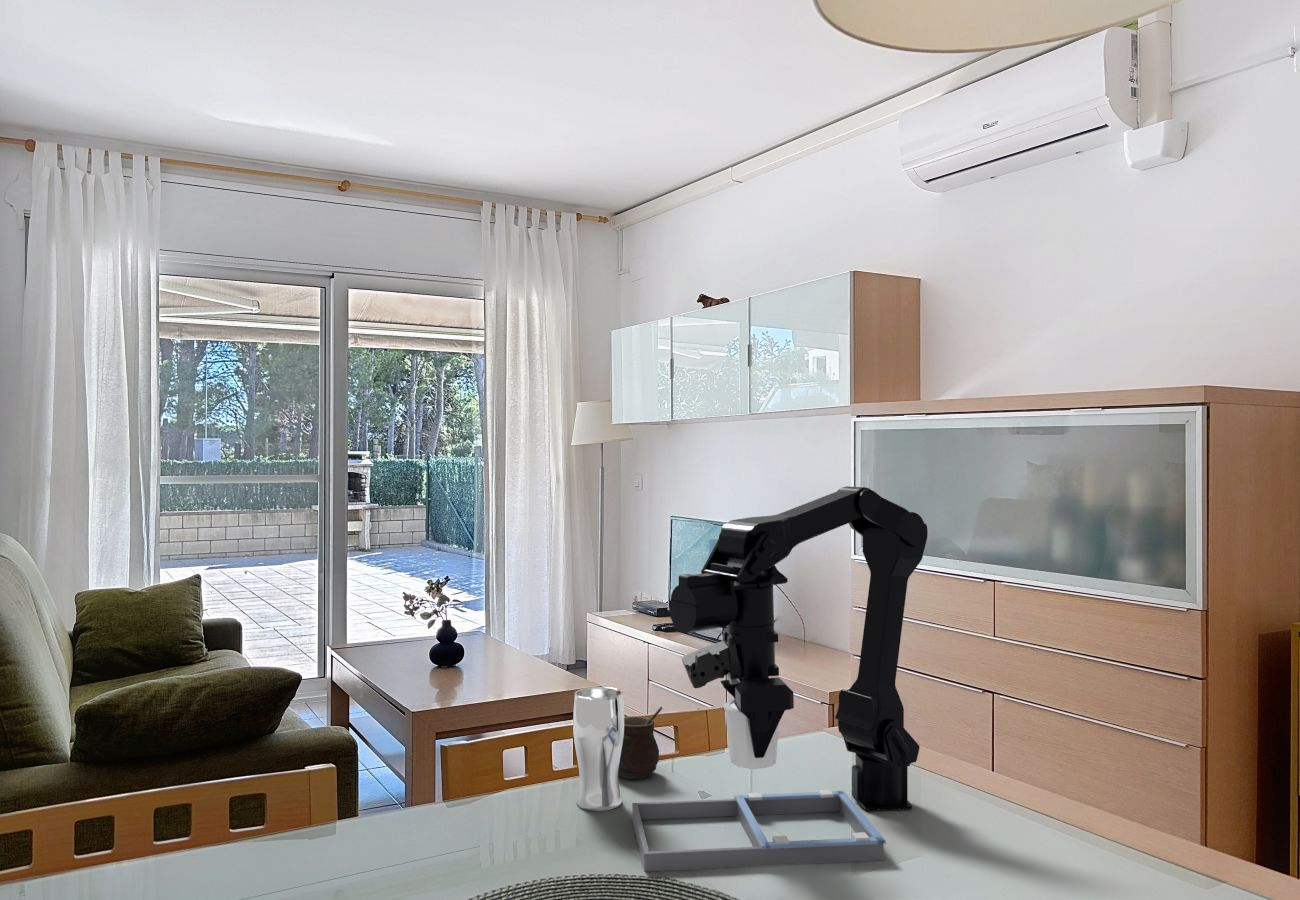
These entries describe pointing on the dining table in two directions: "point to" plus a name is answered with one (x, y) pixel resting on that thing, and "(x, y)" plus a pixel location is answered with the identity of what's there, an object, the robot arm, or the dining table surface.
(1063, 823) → the dining table surface
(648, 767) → the mate gourd
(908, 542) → the robot arm
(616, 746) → the beer glass
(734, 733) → the light grey cup
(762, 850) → the two-slot open tray
